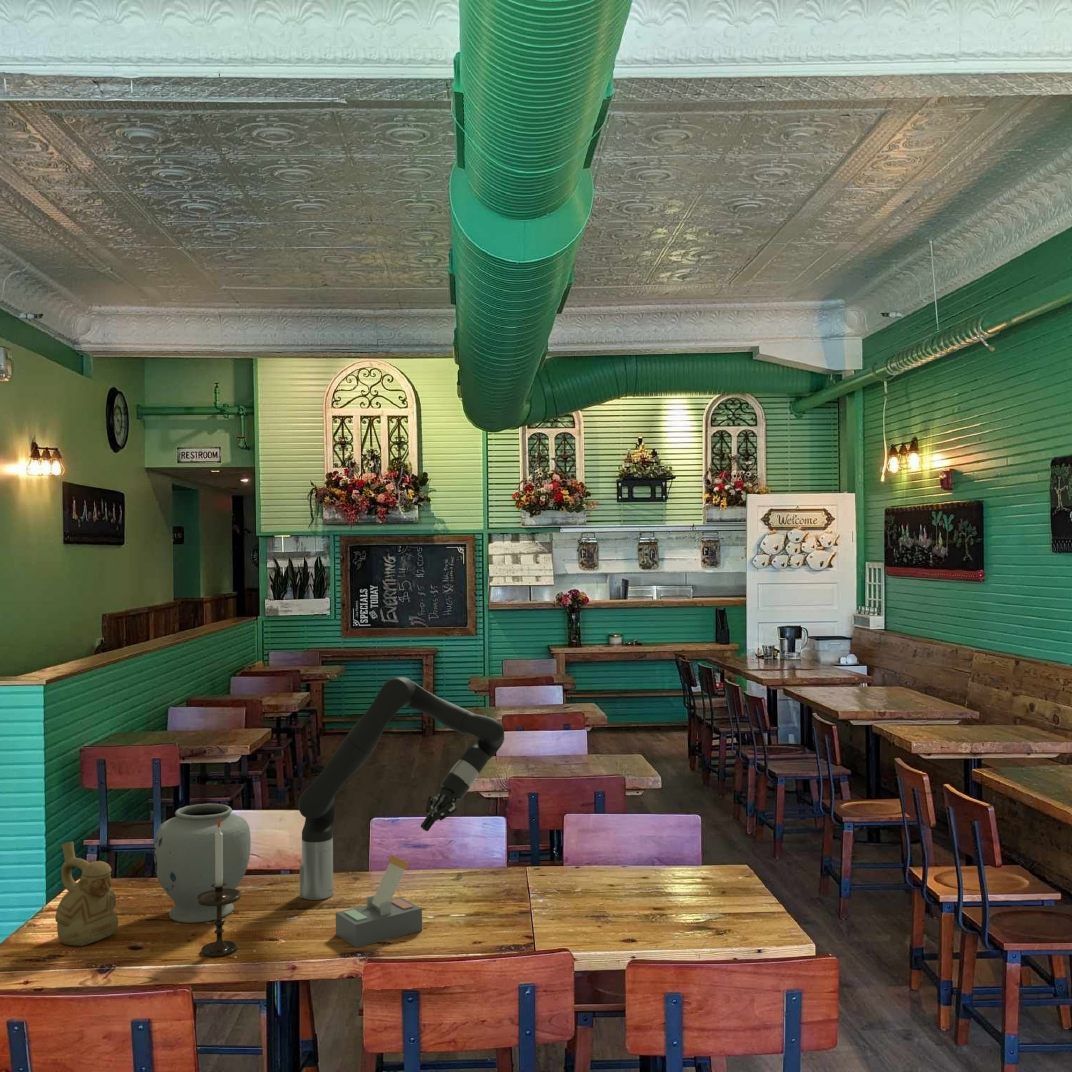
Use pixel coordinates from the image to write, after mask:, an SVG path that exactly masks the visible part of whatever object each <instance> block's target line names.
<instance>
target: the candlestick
mask: <svg viewBox="0 0 1072 1072" xmlns="http://www.w3.org/2000/svg"><path fill="white" fill-rule="evenodd" d="M221 820H222V819H221V817H220V819H219V821H218V824H217V826H218V827H220V823H221ZM226 885H227V884H226V883H223V833H221V831H220V828H218V830H217V833H215V884H213V885H211V887H214V888H215V890H210V891H206V892H204V893H201V894H200V895H198V897H197V902H198V904H200V905H204V906H217V919H215V920H213V925H214V926H215V930H214V932H213V933H214V934H216V940H215V941H213V942H210V943H207V944H205V945H202V947H201V950H200V951H201V953H200V954H201V955H202V956H203V957H206V958H222V957H226V956H229V955H232V954H234V953H236V952H237V950H238V943H236V942H235V941H232V940H223V933H224V932H225V929H223V926H224V925H225V923H226V922H225V921H226V920H225V919H224V918H223V917H222V905H227V904H231V903H232V904H233V903H236V902H238V901H239V900H241V897H242V892H241V891H240V890H238V889H237V888H236V889H229V888H224V889H223V887H224V886H226Z"/></svg>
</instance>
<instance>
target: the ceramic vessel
mask: <svg viewBox="0 0 1072 1072" xmlns="http://www.w3.org/2000/svg"><path fill="white" fill-rule="evenodd" d="M61 847H62V848H61V849H62V851H63V857H64V862H63V864H62V865H61V871H60V873H61V882H62V884H63V887H64V888H65V889H66V890H67V892H66V893H65V894H64V895H63V897H62V898H61V900H59V903H58V906H57V908H56V911H55V912H56V913H55V918H54V919H55V922H56V924H57V925H56V928H57V929H56V930H57V937H58V940H59V942H60V943H61V944H64V945H67V946H80V947H82V946H83V947H84V946H87V945H89V944H93V943H96V942H98V941H101V940H103V939H105V938H108V937H110V936H112V935H113V934H115V931H116V930H117V929H118V926H119V918H118V916H117V914H116V913H115V912H114V909H115V907H116V905H117V903H116V902H117V900H116V894H115V891H114V889H113V888H112V887H111V886H112V882H113V880H112V877H111V875H112V873H111V872H112V867H111V866H110V864H109V863H107V862H106V861H102V860H96V861H92V862H90V861H88V860H86V859H84V858H81V857H76V852H75V847H74V841H70V842H66V843H62V844H61ZM73 867H74V868H78V869H79V870H80V871H81V874H80V875H81V876H80V878H79V880H78V881H77V882H76V881H75V879H74V877H73V876H72V875H73V874H72V870H73V869H72V868H73Z"/></svg>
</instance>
